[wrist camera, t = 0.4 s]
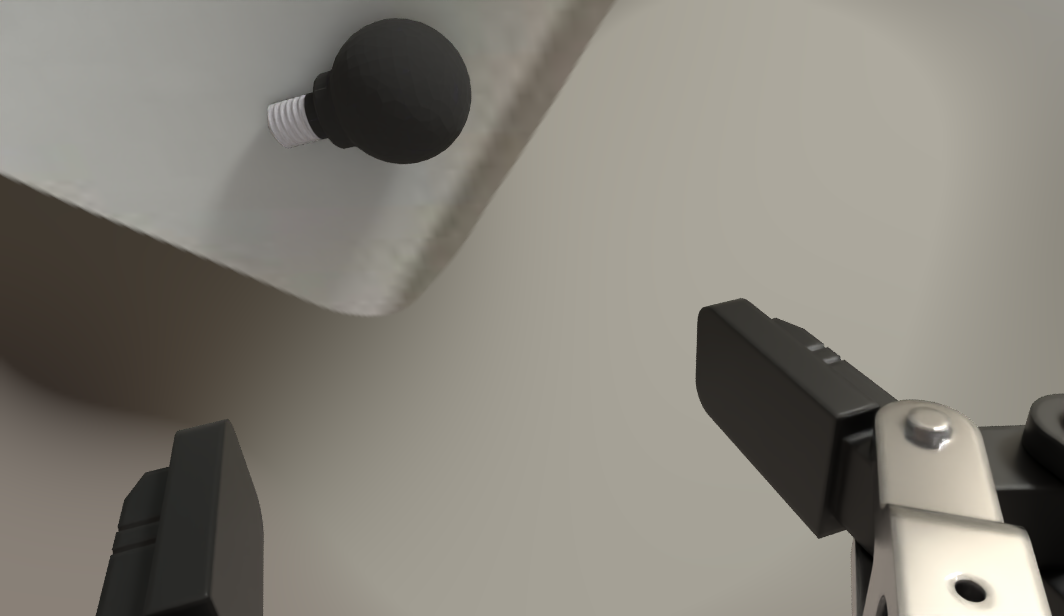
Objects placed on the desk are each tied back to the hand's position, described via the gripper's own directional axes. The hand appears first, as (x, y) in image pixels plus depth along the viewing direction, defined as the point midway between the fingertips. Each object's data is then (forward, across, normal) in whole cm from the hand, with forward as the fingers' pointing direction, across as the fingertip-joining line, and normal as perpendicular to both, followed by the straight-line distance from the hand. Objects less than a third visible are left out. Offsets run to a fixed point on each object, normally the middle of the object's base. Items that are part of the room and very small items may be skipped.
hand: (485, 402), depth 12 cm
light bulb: (+28, -1, +1) cm, 28 cm away
